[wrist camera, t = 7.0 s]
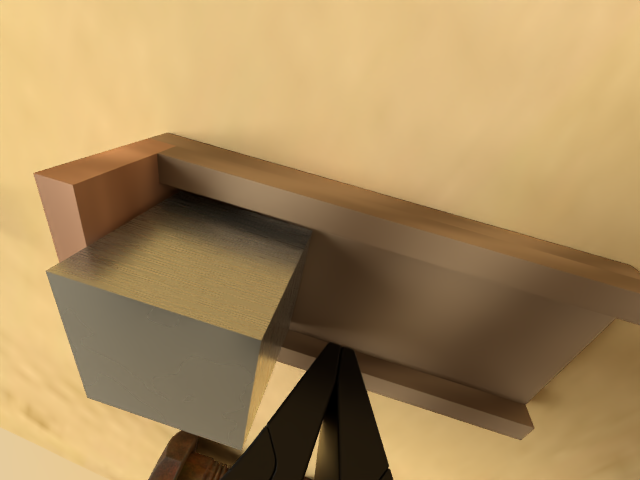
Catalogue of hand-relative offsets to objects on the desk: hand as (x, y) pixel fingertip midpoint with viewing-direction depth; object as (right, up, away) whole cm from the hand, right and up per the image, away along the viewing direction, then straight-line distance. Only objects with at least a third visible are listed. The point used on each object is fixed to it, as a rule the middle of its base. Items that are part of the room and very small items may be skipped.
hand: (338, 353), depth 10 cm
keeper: (-4, +3, +3) cm, 5 cm away
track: (+1, +2, +3) cm, 4 cm away
